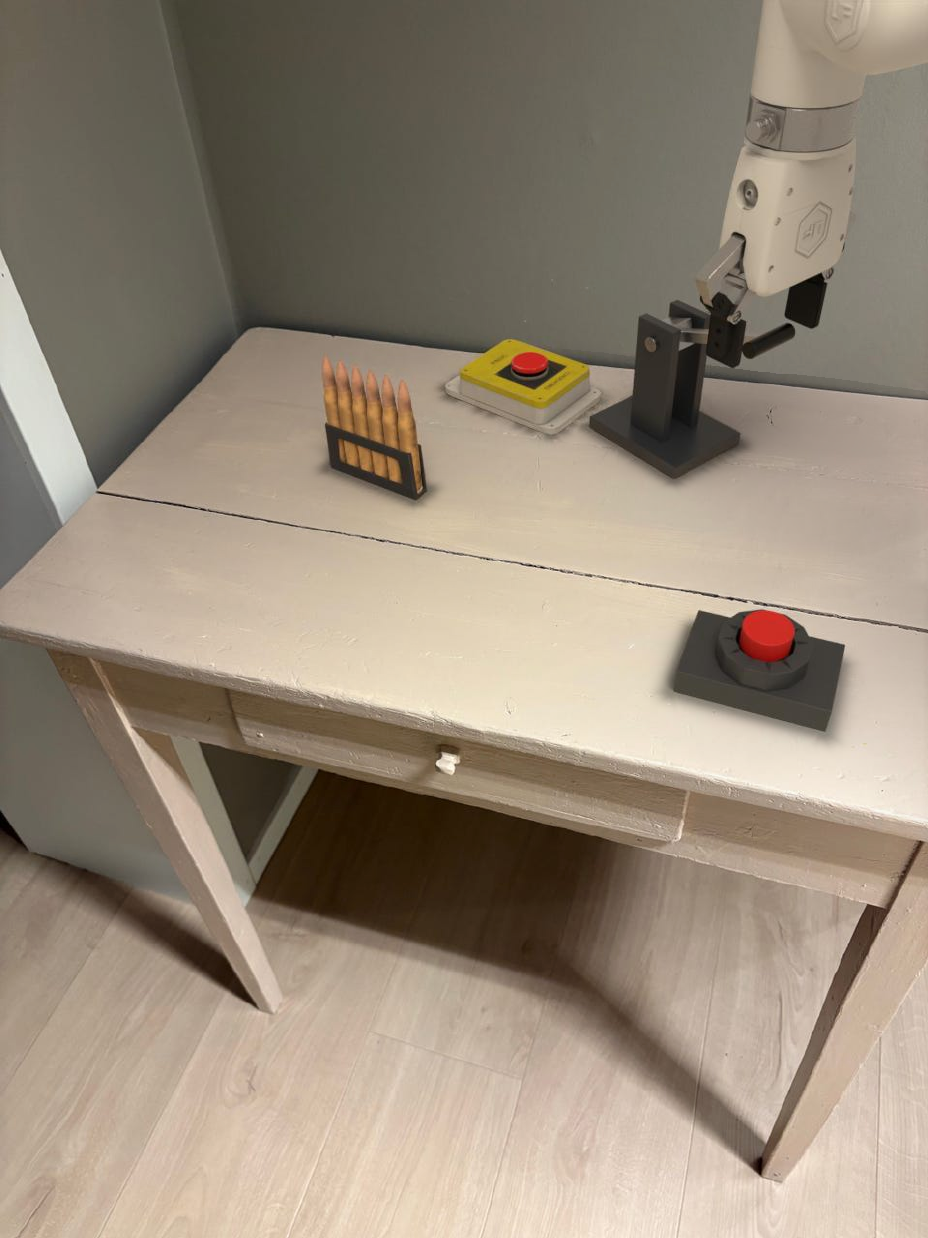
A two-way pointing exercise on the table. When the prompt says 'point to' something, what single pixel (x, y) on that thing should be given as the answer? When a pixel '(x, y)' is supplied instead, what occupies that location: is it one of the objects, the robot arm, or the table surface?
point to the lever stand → (667, 400)
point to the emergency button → (527, 386)
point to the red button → (766, 636)
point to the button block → (760, 672)
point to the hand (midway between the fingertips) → (762, 341)
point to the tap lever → (752, 340)
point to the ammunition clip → (372, 431)
